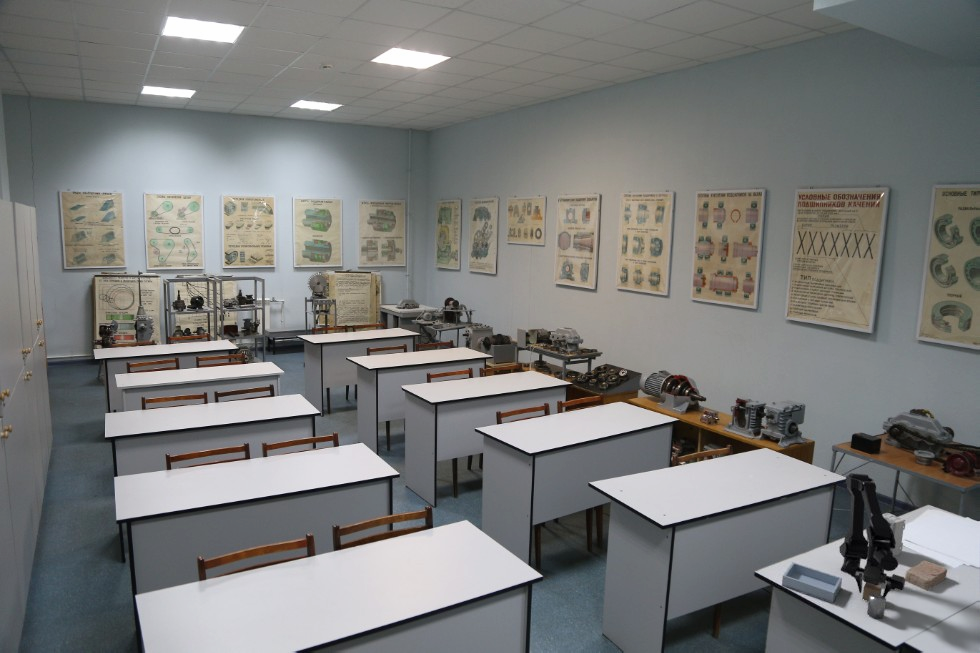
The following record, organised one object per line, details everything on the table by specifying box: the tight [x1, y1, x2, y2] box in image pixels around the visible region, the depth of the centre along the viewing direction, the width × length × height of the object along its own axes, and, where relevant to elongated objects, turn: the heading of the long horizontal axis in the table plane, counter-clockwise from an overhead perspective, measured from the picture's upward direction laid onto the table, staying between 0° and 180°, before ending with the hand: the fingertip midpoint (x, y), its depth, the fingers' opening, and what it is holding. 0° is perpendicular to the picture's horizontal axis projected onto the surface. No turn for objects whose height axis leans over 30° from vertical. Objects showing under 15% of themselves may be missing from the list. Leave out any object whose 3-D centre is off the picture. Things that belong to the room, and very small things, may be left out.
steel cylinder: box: [866, 593, 887, 621], centre depth 225 cm, size 5×5×7 cm
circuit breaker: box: [866, 512, 906, 557], centre depth 270 cm, size 8×14×15 cm, turn 115°
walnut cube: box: [862, 582, 883, 602], centre depth 235 cm, size 5×5×5 cm
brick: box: [904, 560, 948, 591], centre depth 250 cm, size 17×8×5 cm, turn 123°
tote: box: [781, 562, 843, 604], centre depth 243 cm, size 14×18×4 cm
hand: (871, 596), depth 235 cm, fingers open, 7 cm apart
